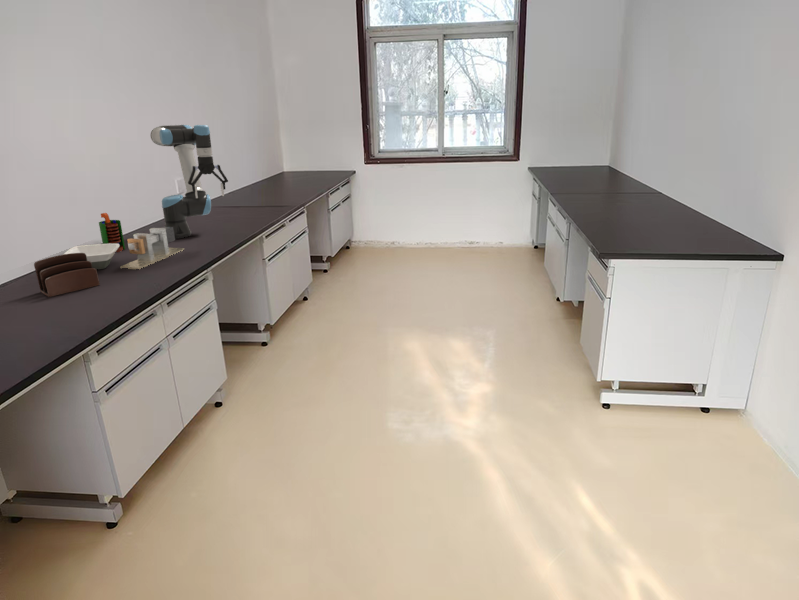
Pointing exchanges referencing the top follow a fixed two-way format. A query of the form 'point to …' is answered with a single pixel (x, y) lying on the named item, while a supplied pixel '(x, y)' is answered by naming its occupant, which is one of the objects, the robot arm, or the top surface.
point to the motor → (111, 232)
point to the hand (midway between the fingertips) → (210, 196)
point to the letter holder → (65, 274)
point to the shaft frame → (154, 254)
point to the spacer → (141, 246)
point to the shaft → (155, 238)
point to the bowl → (96, 253)
